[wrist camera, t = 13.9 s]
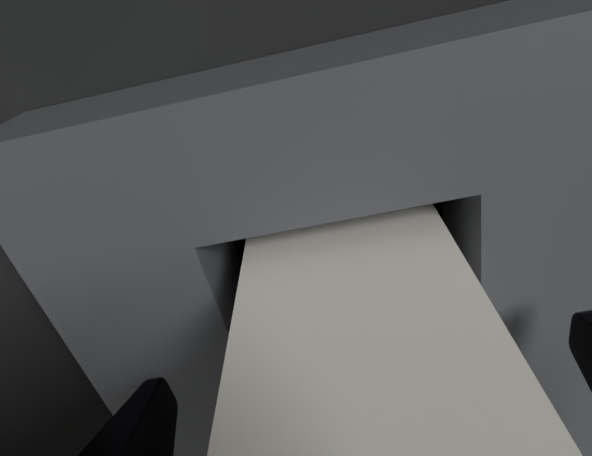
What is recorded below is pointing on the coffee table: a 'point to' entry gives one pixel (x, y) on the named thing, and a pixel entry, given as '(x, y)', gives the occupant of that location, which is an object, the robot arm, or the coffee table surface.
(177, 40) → the coffee table surface
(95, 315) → the socket block
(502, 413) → the plug
